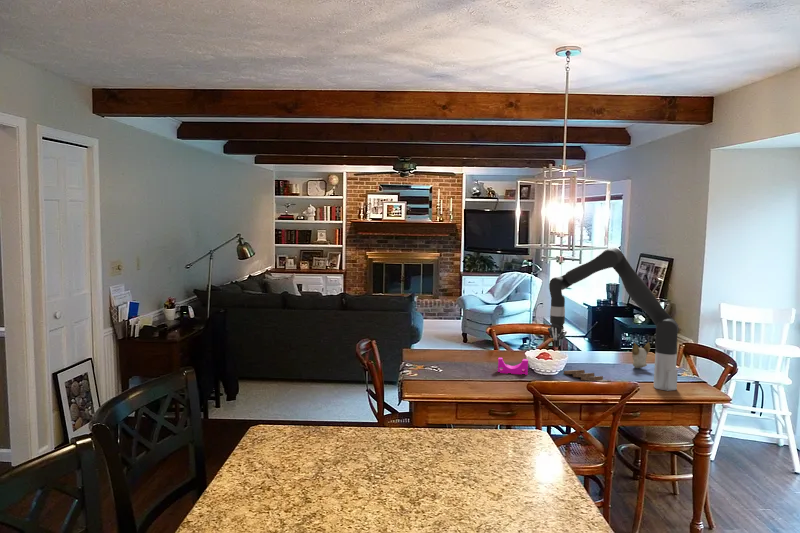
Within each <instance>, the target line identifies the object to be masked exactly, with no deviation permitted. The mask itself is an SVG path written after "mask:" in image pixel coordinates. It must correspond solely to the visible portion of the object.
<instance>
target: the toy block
mask: <svg viewBox="0 0 800 533" xmlns="http://www.w3.org/2000/svg"><path fill="white" fill-rule="evenodd" d="M497 362H498V363H497V373H498V372H500V373H499V374H508V373H511V375H522V374H525V375H524V376H528V374H529V373H528V370H529V359H528V358H522V361H521V363H518V364H516V365H510V364H507V363H505V361H504V359H503V357H498V360H497Z"/></svg>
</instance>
